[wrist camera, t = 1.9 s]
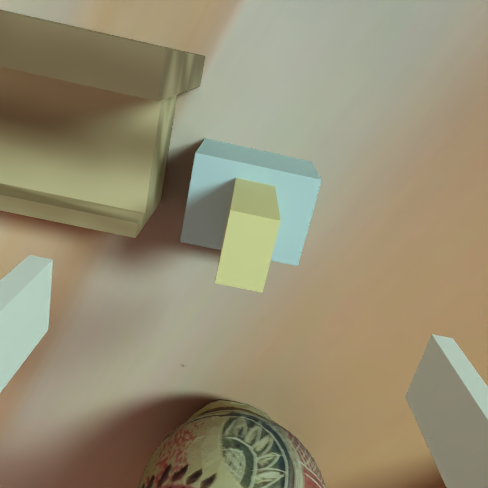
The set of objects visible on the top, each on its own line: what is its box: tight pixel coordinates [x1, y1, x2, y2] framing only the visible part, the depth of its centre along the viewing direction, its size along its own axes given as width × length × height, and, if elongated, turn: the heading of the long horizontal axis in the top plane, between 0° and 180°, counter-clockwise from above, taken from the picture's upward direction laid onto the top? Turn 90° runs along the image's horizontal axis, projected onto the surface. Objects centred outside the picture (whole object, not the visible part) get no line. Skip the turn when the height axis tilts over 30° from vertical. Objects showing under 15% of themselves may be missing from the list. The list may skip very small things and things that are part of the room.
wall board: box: [0, 10, 205, 238], centre depth 27 cm, size 11×14×15 cm
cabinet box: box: [180, 138, 322, 292], centre depth 29 cm, size 6×8×13 cm
